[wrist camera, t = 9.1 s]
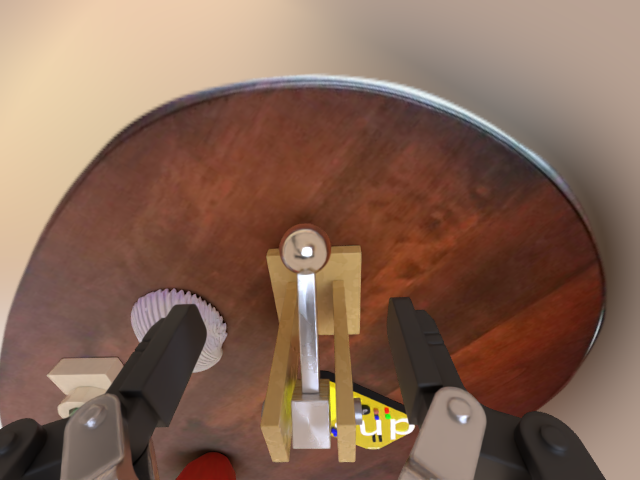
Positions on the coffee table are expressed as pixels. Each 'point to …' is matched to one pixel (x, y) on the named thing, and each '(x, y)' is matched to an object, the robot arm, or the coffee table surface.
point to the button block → (83, 380)
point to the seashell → (159, 307)
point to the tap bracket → (333, 319)
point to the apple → (208, 468)
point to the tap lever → (308, 336)
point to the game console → (372, 416)
